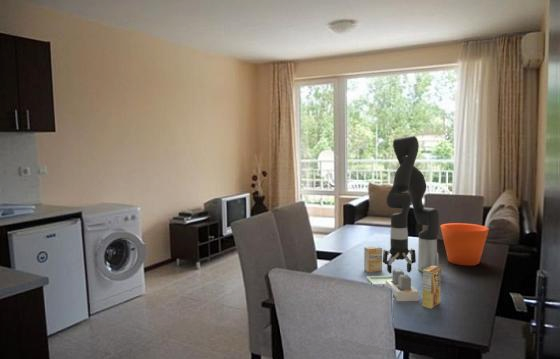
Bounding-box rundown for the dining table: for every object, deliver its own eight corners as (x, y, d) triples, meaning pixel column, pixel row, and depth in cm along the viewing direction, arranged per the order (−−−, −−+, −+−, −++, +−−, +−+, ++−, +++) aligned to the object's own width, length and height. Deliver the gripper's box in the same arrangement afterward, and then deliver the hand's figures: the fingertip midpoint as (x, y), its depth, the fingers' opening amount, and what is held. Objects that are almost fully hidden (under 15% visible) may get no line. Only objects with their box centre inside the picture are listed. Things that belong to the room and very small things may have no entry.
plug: (401, 287, 187) (401, 269, 186) (404, 290, 183) (404, 271, 182) (392, 287, 187) (392, 269, 186) (395, 290, 183) (395, 271, 182)
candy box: (430, 300, 173) (431, 265, 172) (440, 303, 170) (441, 266, 169) (421, 306, 167) (422, 269, 166) (432, 309, 164) (432, 271, 163)
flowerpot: (437, 264, 227) (437, 229, 226) (442, 254, 249) (442, 221, 248) (487, 270, 215) (488, 232, 214) (488, 258, 237) (489, 224, 236)
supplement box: (368, 274, 211) (368, 249, 210) (363, 271, 216) (363, 247, 215) (382, 272, 213) (382, 247, 212) (378, 270, 218) (378, 245, 217)
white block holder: (385, 288, 189) (385, 268, 188) (404, 288, 189) (405, 267, 188) (397, 301, 173) (397, 279, 172) (418, 300, 173) (418, 278, 172)
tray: (394, 279, 202) (394, 275, 202) (403, 287, 190) (403, 283, 190) (366, 280, 201) (366, 276, 201) (373, 288, 189) (373, 284, 189)
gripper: (411, 234, 187) (411, 269, 188) (380, 235, 186) (381, 270, 188) (418, 238, 180) (418, 274, 181) (386, 239, 179) (386, 275, 180)
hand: (399, 272), depth 184 cm, fingers open, 8 cm apart
